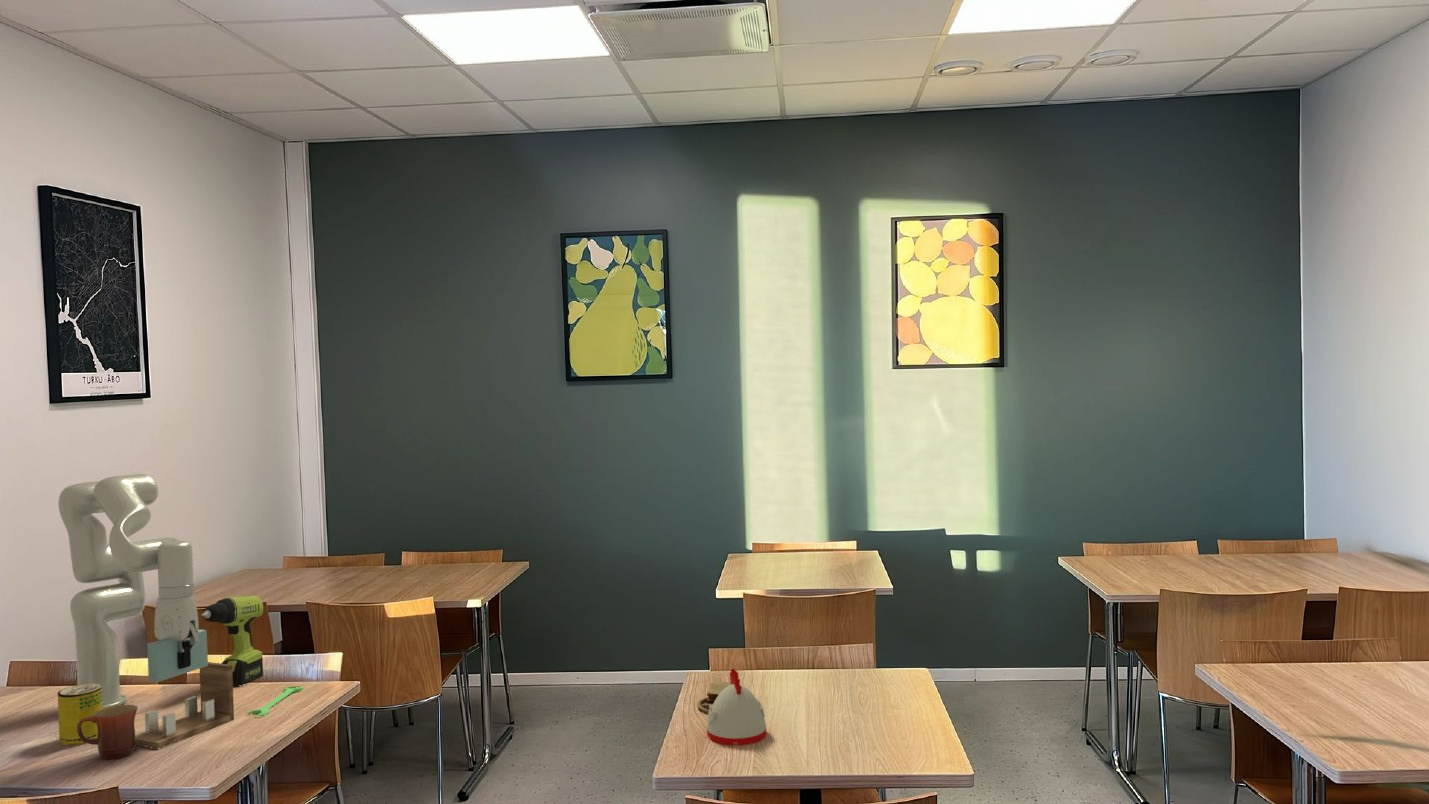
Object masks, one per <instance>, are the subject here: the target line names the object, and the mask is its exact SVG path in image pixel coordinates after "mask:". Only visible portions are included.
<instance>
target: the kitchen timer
mask: <svg viewBox="0 0 1429 804" xmlns="http://www.w3.org/2000/svg"><path fill="white" fill-rule="evenodd" d="M729 679H730V680H729V682H730V683H731V685H730V686H728V687H726V688H725V689H724V690H723V691H722V692H721V693H720V694H719V695H718V697H717V698H716V700H715V702H714V704H713V705H710V706H709V713H707V714H708V715H707V724H706V726H707V727H706V728H707V729H706V735H707V738H708V739H709V740H710V741H711V742H714V743H715V744H721V745H725V746H726V745H727V746H746V745H751V744H756V743H759V742H761V741H762V740H764V739H765V738H766V736H767V724H766V720H765V718H766V717H765V716H766V715H765V712H764V707H763V706H762V703H761V702H760V700H759V699H757V697H756V696H755V695H754V694H753V693H752V691H750V690H749V688H747V687H745V686H744V685H743V684H740V683H741V679H740V678H739V672H737V670H736V669H735V668H733V669H732V668H731V669H730V672H729Z"/></svg>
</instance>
